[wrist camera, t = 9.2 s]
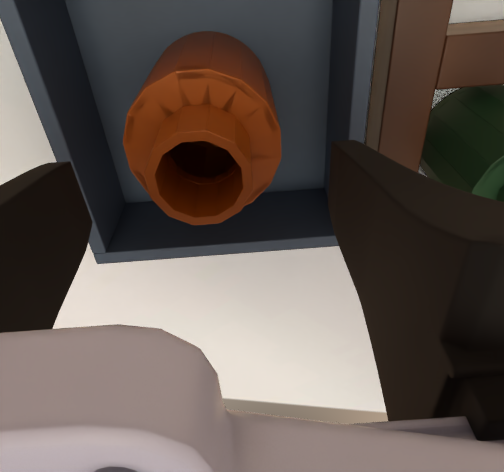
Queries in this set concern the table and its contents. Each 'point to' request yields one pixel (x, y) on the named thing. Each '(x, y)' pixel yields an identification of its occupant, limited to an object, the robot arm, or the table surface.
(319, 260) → the table surface
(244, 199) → the amber bottle
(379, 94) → the rack
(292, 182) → the basket
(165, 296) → the table surface
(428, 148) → the green bottle
